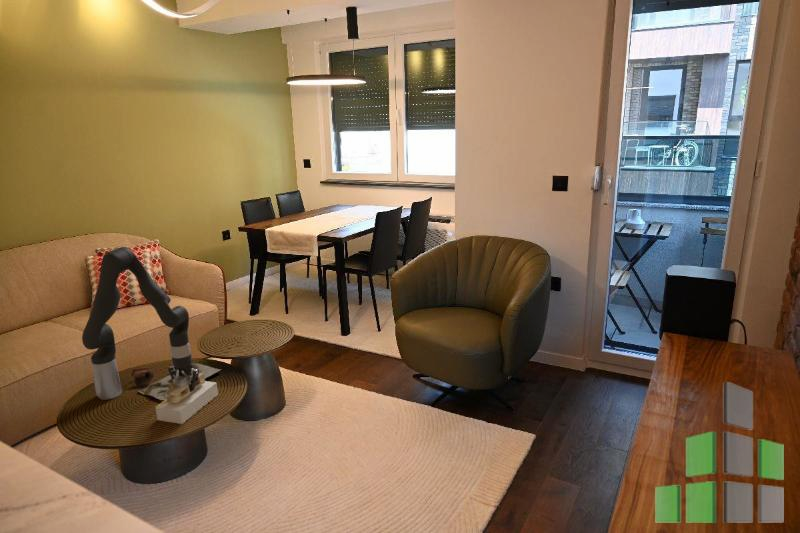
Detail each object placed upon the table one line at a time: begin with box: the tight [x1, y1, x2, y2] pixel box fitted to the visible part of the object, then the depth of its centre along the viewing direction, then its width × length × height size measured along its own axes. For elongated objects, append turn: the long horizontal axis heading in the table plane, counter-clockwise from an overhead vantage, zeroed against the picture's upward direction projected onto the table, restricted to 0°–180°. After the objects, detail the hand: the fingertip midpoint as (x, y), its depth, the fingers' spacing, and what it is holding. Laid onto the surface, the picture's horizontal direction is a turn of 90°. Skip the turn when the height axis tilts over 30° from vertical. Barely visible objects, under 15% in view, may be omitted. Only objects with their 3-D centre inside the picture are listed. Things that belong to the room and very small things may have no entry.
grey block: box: [172, 375, 189, 388], centre depth 210 cm, size 4×4×3 cm
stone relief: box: [137, 362, 222, 401], centre depth 236 cm, size 32×3×20 cm
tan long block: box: [165, 373, 206, 403], centre depth 213 cm, size 5×18×4 cm, turn 164°
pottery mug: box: [130, 367, 154, 387], centre depth 238 cm, size 12×10×8 cm
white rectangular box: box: [155, 380, 219, 425], centre depth 215 cm, size 12×24×6 cm, turn 164°
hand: (186, 389), depth 214 cm, fingers closed on tan long block, 5 cm apart
